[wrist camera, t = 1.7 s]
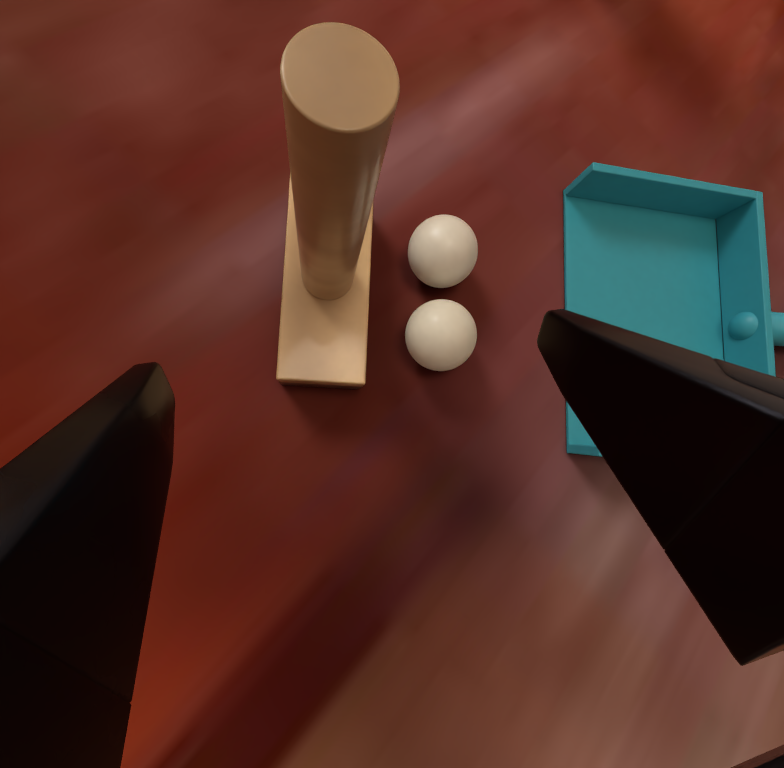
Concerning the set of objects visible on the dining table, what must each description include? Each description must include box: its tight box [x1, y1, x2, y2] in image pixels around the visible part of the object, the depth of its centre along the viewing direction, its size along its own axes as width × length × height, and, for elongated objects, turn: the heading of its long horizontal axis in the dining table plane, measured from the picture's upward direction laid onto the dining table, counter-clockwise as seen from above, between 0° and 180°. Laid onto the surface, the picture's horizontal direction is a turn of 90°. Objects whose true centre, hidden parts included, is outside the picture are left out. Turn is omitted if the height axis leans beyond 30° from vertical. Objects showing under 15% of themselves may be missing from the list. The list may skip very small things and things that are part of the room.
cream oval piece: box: [408, 215, 478, 288], centre depth 21 cm, size 4×4×4 cm
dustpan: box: [563, 162, 784, 457], centre depth 24 cm, size 18×16×3 cm
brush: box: [276, 22, 400, 389], centre depth 14 cm, size 4×10×13 cm, turn 178°
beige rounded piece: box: [405, 299, 477, 371], centre depth 20 cm, size 4×4×4 cm
